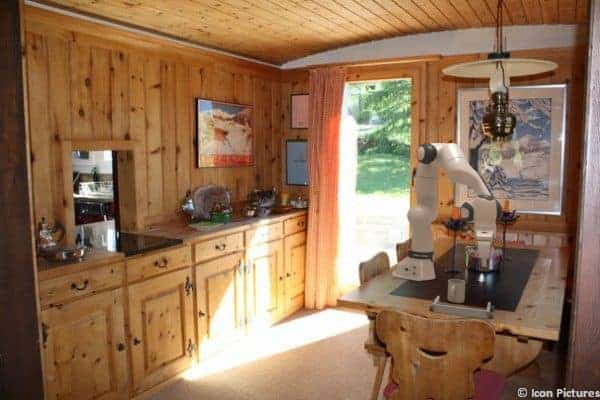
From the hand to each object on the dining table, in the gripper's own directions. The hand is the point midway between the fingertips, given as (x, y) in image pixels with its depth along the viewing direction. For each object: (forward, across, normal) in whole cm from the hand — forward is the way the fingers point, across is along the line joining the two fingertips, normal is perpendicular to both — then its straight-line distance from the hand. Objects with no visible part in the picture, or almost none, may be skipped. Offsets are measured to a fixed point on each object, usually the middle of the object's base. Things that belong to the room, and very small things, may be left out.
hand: (484, 265), depth 214 cm
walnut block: (+2, 0, 0) cm, 2 cm away
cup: (+18, -2, -12) cm, 22 cm away
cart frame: (+18, +9, -8) cm, 22 cm away
